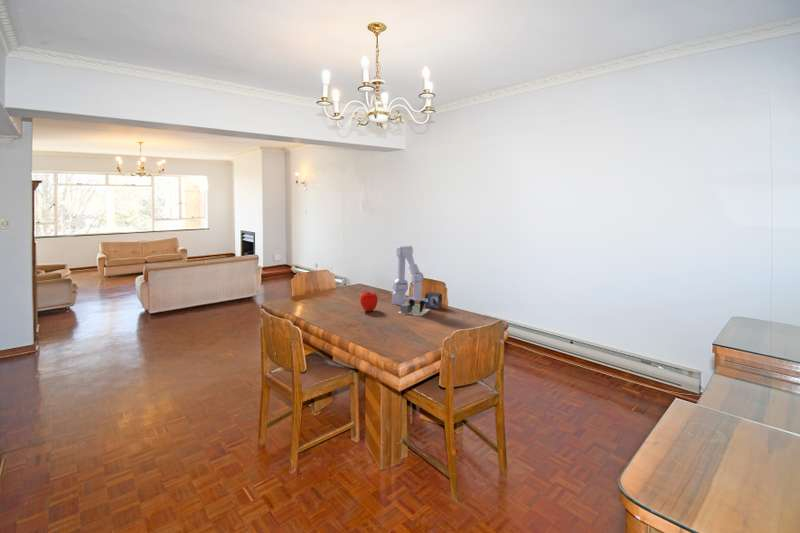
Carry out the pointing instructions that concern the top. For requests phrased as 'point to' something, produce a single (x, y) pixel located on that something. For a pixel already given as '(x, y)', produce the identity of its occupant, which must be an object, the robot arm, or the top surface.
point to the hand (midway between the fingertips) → (417, 311)
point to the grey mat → (417, 314)
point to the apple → (368, 301)
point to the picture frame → (433, 300)
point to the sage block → (416, 309)
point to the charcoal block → (405, 308)
